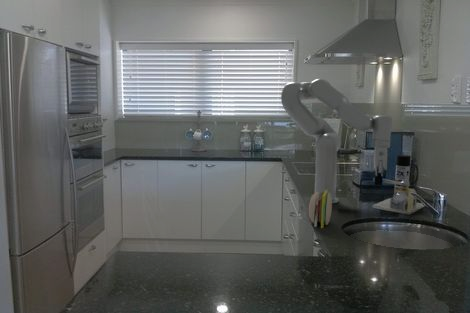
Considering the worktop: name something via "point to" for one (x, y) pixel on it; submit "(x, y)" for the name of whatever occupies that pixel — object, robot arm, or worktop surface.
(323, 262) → the worktop surface
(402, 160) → the spray can
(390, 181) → the lever
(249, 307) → the worktop surface
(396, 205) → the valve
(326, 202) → the hamburger
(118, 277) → the worktop surface
